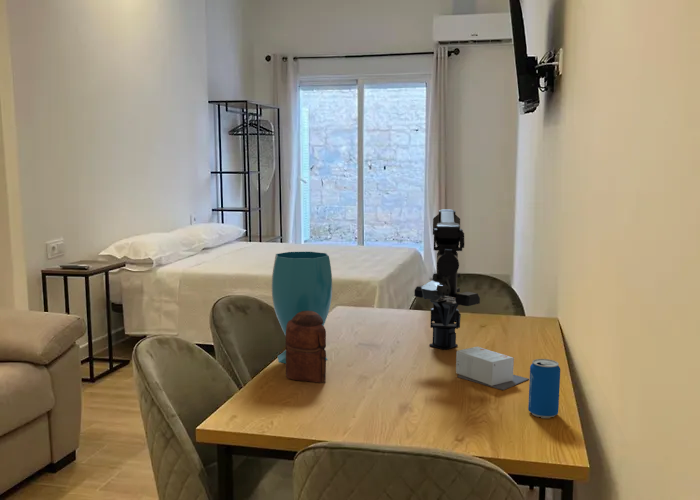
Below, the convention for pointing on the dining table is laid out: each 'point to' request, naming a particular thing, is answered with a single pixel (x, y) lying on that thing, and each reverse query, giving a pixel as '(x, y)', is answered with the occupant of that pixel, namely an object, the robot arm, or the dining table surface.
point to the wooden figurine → (306, 348)
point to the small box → (484, 365)
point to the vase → (301, 286)
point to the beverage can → (544, 388)
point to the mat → (503, 385)
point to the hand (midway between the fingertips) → (445, 325)
